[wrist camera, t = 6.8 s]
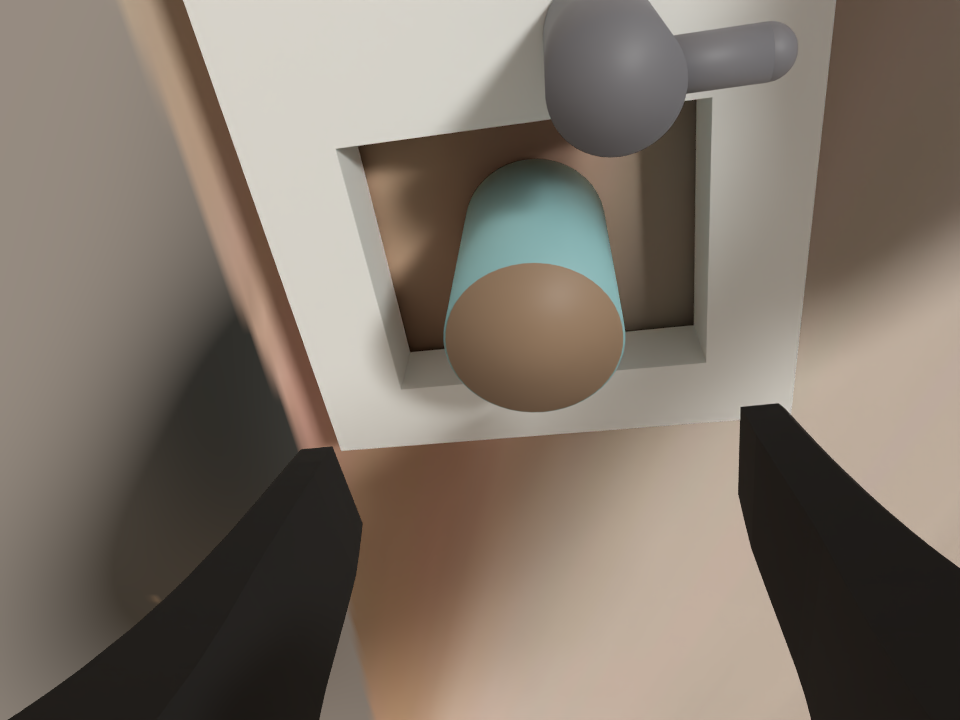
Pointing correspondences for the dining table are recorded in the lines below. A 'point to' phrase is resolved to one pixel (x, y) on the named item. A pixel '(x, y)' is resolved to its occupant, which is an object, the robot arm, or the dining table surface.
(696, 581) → the dining table surface
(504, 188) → the cylinder
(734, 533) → the dining table surface
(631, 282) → the dining table surface
